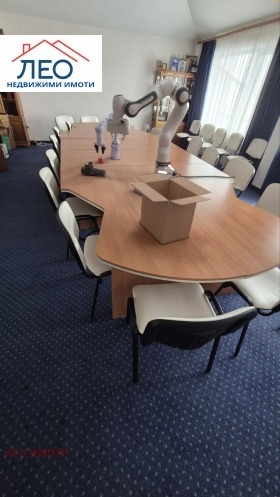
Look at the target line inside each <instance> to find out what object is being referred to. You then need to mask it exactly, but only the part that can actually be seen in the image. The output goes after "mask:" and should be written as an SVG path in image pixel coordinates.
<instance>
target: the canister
mask: <svg viewBox="0 0 280 497" xmlns="http://www.w3.org/2000/svg"><path fill="white" fill-rule="evenodd" d="M103 159H104V158H103V157H98V159H97V162H98V164H103V163H104V160H103Z"/></svg>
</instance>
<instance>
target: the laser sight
mask: <svg viewBox="0 0 280 497" xmlns="http://www.w3.org/2000/svg"><path fill="white" fill-rule="evenodd" d="M87 162H88V163H87V164H86V163H85V164H84V166H81V168H80V174H82V175H86V176H92V177H106V174H107V171H106V169H100V168H97V167H94V164H93V161H87Z"/></svg>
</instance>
